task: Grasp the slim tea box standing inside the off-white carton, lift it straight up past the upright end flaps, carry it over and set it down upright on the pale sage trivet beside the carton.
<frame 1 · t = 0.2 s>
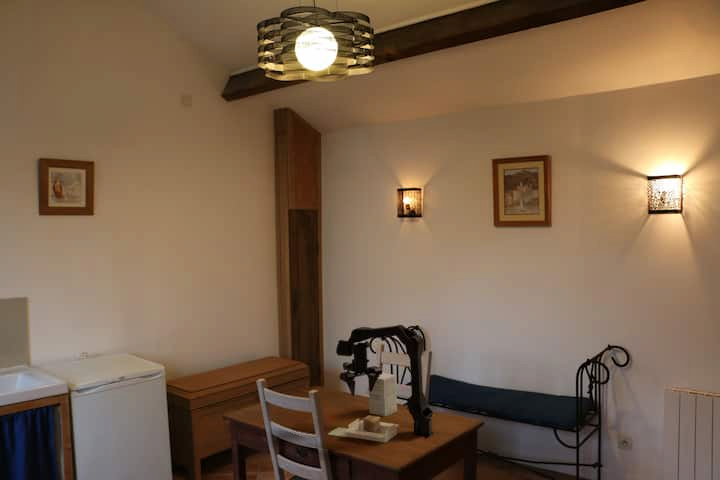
hand: (361, 393, 256), 14 cm above the table, fingers open, 9 cm apart
trivet: (342, 433, 248), on the table
carton: (372, 436, 243), on the table
tea box: (372, 435, 243), point 1 cm above the table, touching carton
supplement box: (383, 412, 275), on the table
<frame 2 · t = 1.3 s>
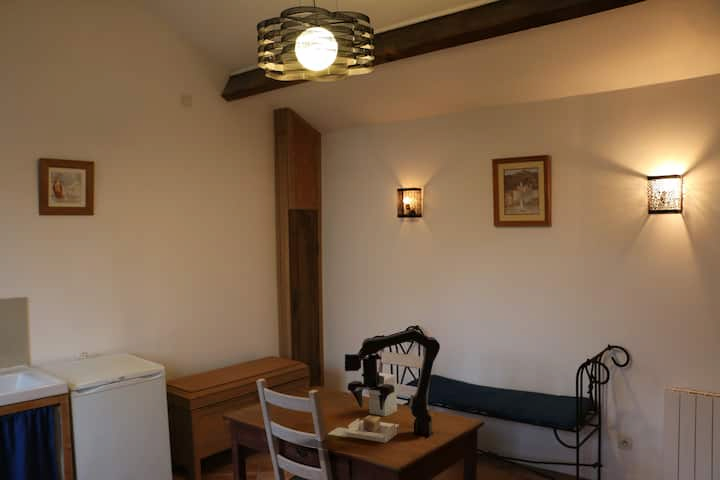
hand: (371, 408, 243), 11 cm above the table, fingers open, 9 cm apart
nothing on the table moved.
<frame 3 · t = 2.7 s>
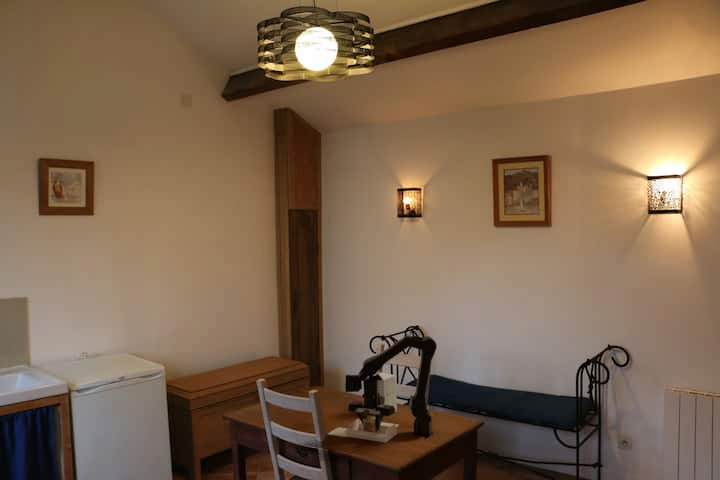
hand: (371, 429, 243), 3 cm above the table, fingers closed on tea box, 5 cm apart
tea box: (372, 435, 243), point 1 cm above the table, touching carton, gripper
everything else where it was.
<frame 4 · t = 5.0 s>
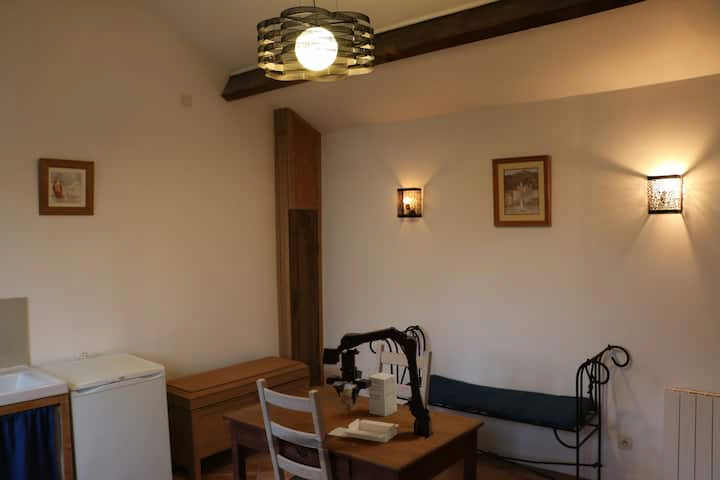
hand: (348, 402, 246), 13 cm above the table, fingers closed on tea box, 5 cm apart
tea box: (348, 408, 246), point 11 cm above the table, touching gripper
everything else where it was.
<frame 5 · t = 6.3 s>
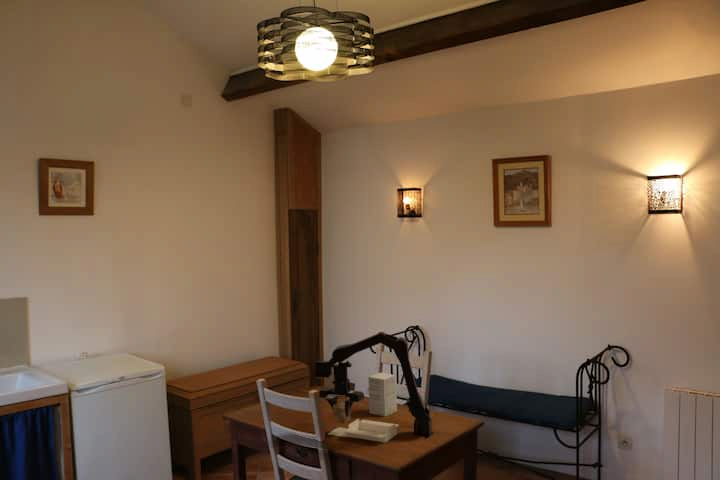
hand: (342, 415, 248), 8 cm above the table, fingers closed on tea box, 5 cm apart
tea box: (342, 420, 248), point 5 cm above the table, touching gripper
everything else where it was.
when the fingers open (4 cm above the table, at t = 7.3 s): tea box drops 1 cm, resting on trivet.
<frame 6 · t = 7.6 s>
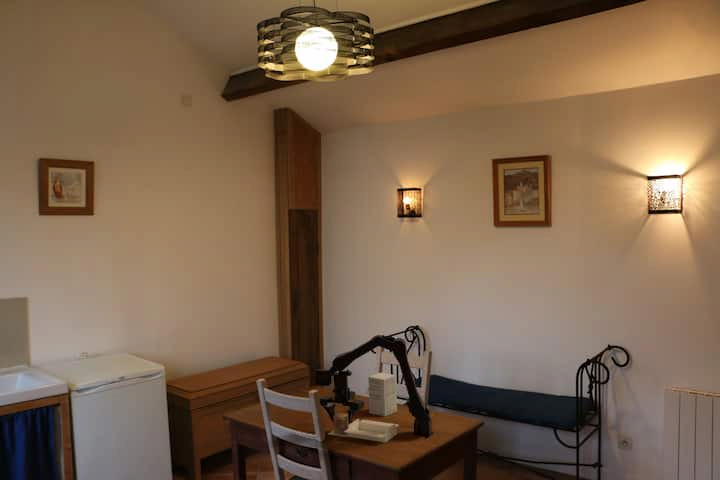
hand: (342, 423, 248), 4 cm above the table, fingers open, 7 cm apart
tea box: (342, 432, 248), point 1 cm above the table, touching trivet
everything else where it was.
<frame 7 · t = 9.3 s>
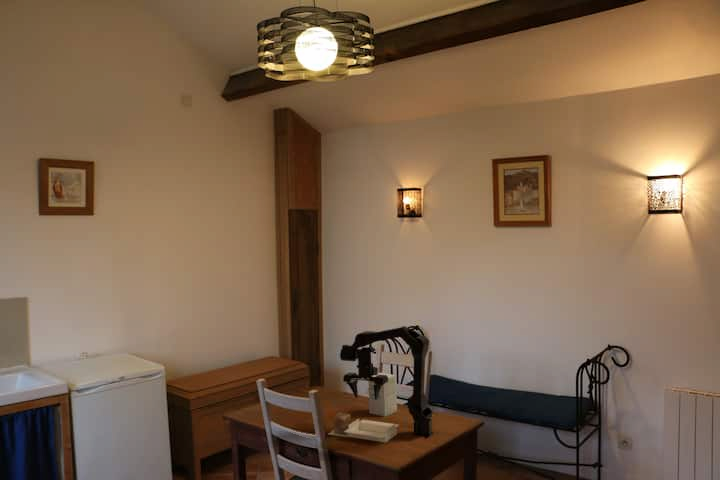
hand: (366, 398, 255), 12 cm above the table, fingers open, 9 cm apart
nothing on the table moved.
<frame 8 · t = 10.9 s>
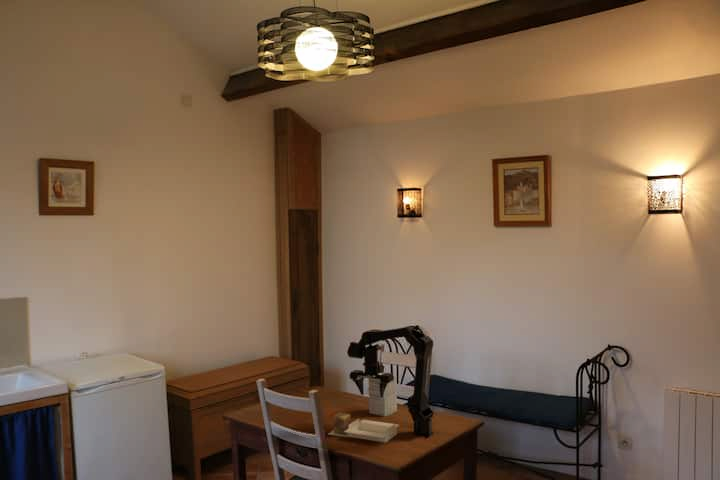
hand: (372, 396, 257), 13 cm above the table, fingers open, 9 cm apart
nothing on the table moved.
at the end: tea box inside the target area on the trivet (0.1 cm from its centre), point 0.6 cm above the trivet's base; tea box tilted 0°; tea box touching trivet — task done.
